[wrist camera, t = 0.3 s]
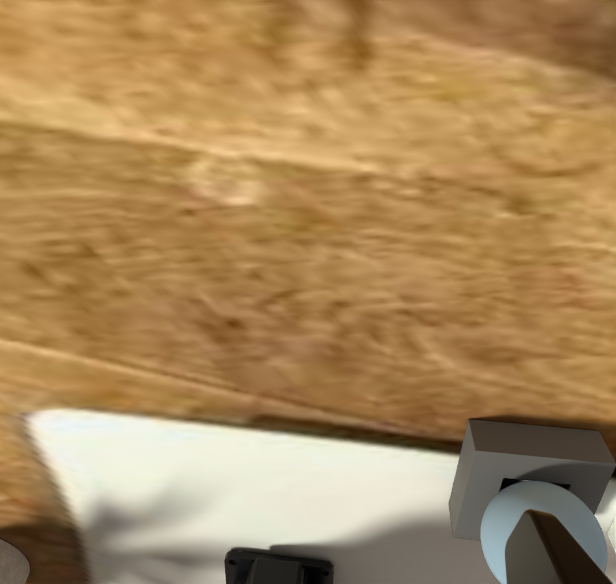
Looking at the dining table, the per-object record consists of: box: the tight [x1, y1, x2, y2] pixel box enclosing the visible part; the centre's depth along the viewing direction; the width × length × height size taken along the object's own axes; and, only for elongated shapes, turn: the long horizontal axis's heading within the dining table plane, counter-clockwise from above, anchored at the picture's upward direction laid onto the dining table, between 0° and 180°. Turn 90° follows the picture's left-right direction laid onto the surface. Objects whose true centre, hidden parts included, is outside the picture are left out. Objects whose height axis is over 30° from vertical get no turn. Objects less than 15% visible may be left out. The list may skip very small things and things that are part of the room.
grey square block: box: [449, 419, 616, 541], centre depth 26 cm, size 6×6×2 cm
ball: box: [481, 481, 607, 584], centre depth 23 cm, size 5×5×5 cm
